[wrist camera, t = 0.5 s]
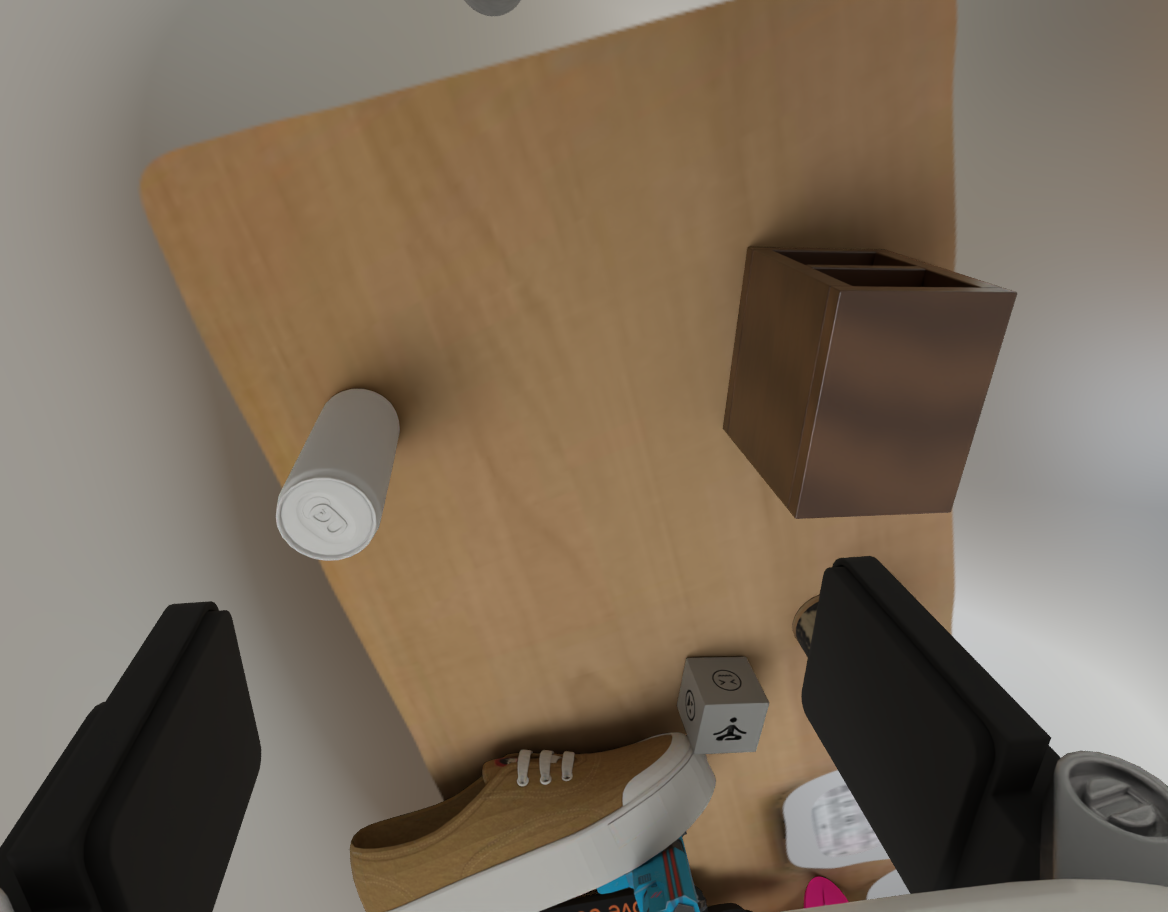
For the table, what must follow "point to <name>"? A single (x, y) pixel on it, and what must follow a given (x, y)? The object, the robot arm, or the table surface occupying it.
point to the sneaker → (534, 830)
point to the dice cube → (721, 705)
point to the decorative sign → (625, 903)
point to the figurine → (822, 893)
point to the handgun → (661, 882)
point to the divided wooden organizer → (860, 378)
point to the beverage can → (340, 477)
